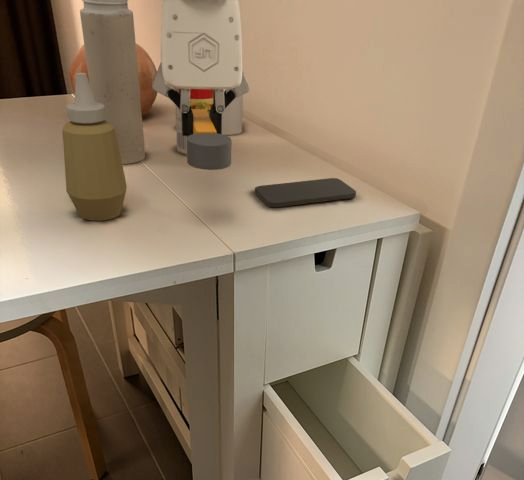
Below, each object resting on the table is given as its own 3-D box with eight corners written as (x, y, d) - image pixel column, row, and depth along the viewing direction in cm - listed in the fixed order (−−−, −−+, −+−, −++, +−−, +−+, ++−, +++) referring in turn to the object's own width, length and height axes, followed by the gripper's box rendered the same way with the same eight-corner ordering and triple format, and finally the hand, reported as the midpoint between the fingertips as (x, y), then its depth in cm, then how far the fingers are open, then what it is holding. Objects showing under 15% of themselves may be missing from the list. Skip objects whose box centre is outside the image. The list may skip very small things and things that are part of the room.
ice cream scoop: (234, 169, 69) (234, 143, 67) (189, 170, 68) (188, 143, 66) (216, 132, 82) (216, 109, 80) (178, 131, 81) (177, 108, 79)
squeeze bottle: (67, 205, 80) (44, 68, 69) (124, 200, 82) (109, 66, 72) (73, 228, 74) (48, 81, 63) (134, 221, 77) (120, 79, 66)
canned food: (228, 151, 104) (228, 81, 96) (194, 159, 99) (192, 86, 92) (202, 141, 108) (200, 73, 101) (169, 148, 104) (164, 78, 97)
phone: (252, 186, 87) (337, 177, 92) (252, 191, 87) (336, 182, 92) (270, 203, 81) (359, 193, 86) (269, 209, 82) (358, 198, 87)
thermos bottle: (89, 158, 97) (61, -36, 80) (118, 147, 103) (97, -36, 86) (126, 167, 94) (105, -33, 78) (154, 154, 100) (139, -33, 83)
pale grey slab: (244, 134, 113) (245, 88, 108) (180, 135, 111) (177, 88, 105) (236, 121, 121) (237, 77, 116) (176, 121, 119) (174, 77, 114)
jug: (70, 107, 124) (53, 3, 113) (149, 103, 130) (141, 3, 119) (82, 129, 111) (65, 13, 99) (170, 123, 117) (163, 13, 105)
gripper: (131, -19, 62) (143, 149, 72) (273, -11, 65) (264, 149, 76) (130, -23, 67) (141, 133, 78) (260, -16, 71) (253, 133, 82)
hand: (201, 139), depth 77 cm, fingers closed on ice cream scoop, 2 cm apart
